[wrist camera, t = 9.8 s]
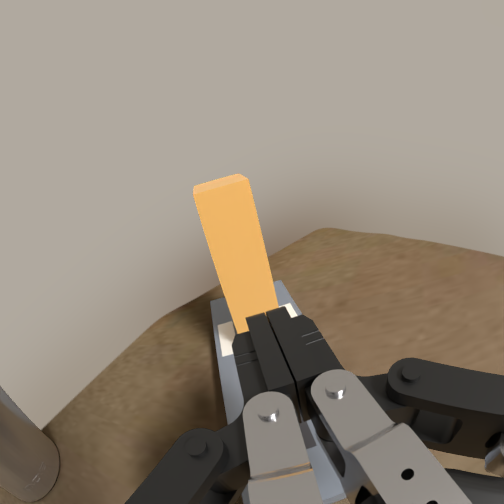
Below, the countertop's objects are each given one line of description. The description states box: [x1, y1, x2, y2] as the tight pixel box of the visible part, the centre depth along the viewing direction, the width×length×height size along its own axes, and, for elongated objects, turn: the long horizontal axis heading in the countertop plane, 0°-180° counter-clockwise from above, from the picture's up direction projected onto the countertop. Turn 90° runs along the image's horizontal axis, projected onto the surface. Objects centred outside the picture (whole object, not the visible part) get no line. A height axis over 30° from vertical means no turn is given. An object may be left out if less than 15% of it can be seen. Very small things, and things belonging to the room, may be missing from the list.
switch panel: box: [210, 280, 347, 504], centre depth 23 cm, size 26×9×2 cm, turn 11°
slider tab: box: [193, 174, 279, 334], centre depth 24 cm, size 5×4×14 cm
